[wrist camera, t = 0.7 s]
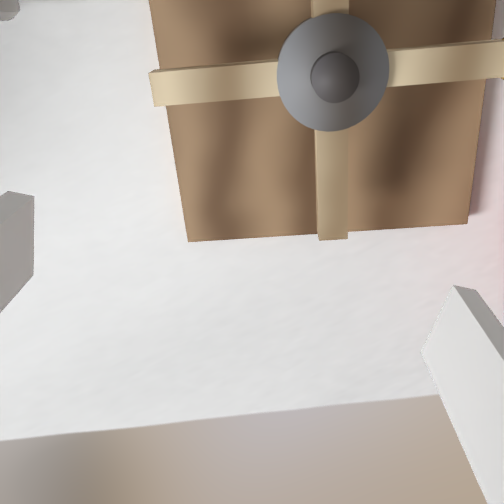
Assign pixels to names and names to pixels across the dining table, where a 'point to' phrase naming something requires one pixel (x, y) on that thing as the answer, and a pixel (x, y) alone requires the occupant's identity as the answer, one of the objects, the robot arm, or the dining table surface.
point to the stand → (302, 138)
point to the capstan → (330, 87)
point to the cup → (8, 9)
